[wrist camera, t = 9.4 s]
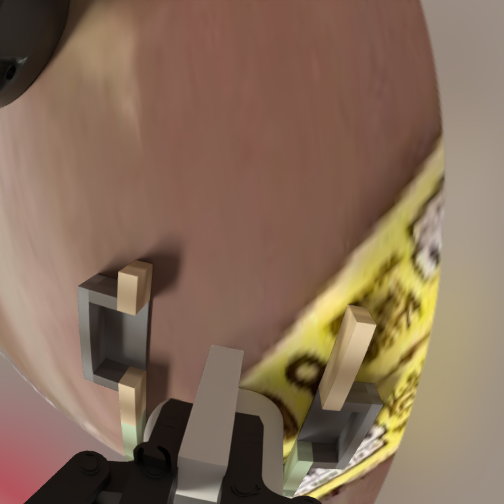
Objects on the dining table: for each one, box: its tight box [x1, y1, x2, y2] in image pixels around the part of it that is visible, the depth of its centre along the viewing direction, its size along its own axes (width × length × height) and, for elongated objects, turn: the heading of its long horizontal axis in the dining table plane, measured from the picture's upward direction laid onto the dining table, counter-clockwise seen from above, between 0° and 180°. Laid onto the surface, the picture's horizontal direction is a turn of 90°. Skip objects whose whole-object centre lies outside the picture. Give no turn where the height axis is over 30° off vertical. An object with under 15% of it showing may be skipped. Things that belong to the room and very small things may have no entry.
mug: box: [143, 388, 284, 504], centre depth 21 cm, size 12×8×11 cm
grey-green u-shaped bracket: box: [78, 260, 383, 497], centre depth 25 cm, size 22×25×3 cm
